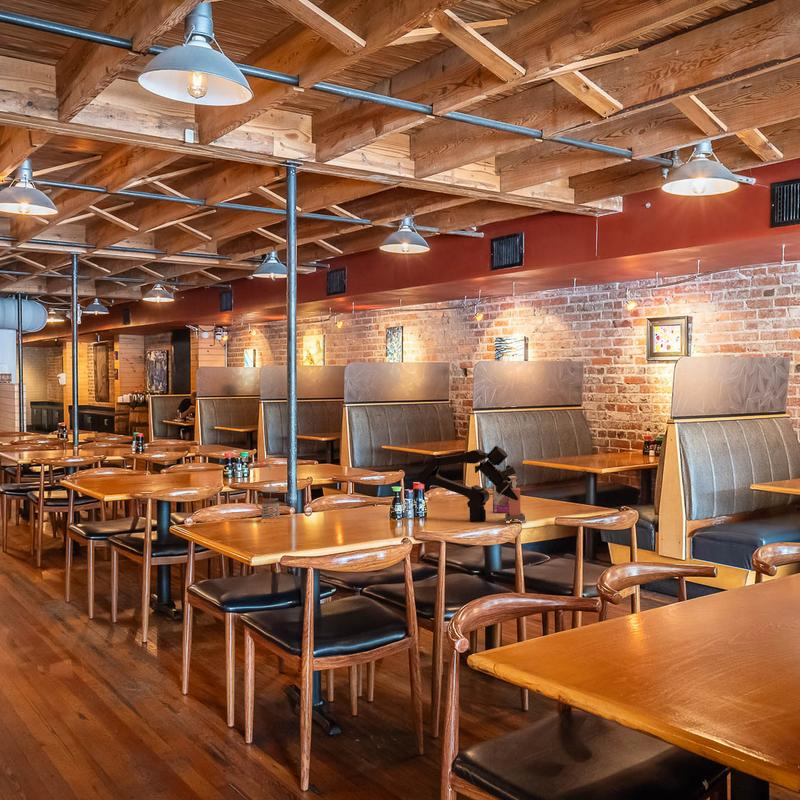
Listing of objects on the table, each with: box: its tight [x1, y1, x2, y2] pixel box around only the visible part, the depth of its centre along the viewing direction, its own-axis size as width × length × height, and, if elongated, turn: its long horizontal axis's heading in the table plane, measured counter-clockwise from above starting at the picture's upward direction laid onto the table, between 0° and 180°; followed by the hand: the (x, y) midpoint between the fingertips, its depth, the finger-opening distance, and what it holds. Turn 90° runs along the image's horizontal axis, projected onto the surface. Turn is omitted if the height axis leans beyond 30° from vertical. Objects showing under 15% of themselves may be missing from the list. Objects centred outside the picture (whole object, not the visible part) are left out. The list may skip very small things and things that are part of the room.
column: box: [509, 487, 522, 516], centre depth 354 cm, size 4×4×13 cm
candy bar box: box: [492, 475, 518, 514], centre depth 381 cm, size 11×5×16 cm, turn 84°
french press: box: [254, 464, 281, 520], centre depth 369 cm, size 10×12×25 cm
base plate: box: [504, 512, 527, 524], centre depth 354 cm, size 8×8×3 cm
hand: (518, 498), depth 354 cm, fingers open, 6 cm apart
